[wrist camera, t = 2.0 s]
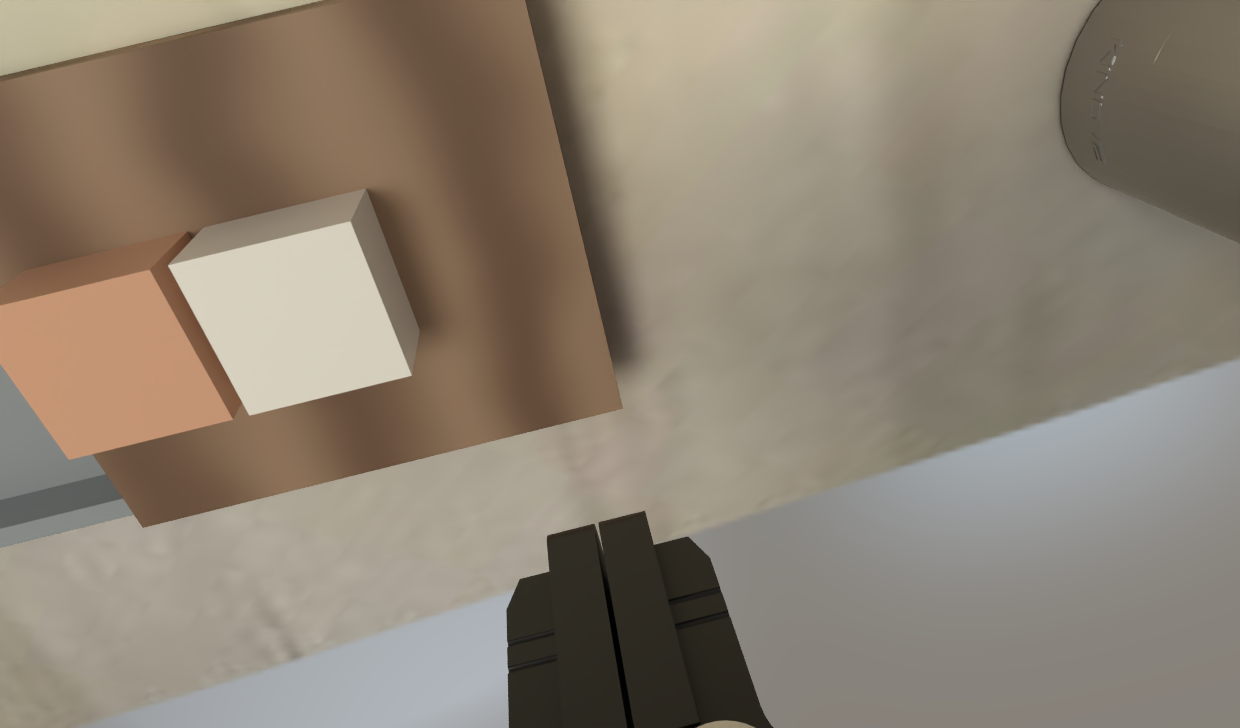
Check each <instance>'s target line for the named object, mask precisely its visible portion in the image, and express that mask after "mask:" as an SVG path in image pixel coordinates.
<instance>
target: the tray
mask: <svg viewBox="0 0 1240 728" xmlns="http://www.w3.org/2000/svg"><path fill="white" fill-rule="evenodd" d="M130 515H134V514H133V512H132V511H131V510H130V508H129V507H128V505H127V504H126V502H125V501H124V499H123V498H122V497H121V495H120V494H119V492H118V491H117V489H116V488H115V486H114V485H113V484H112V482H111V481H110V479H109V478H108V476H107V475H106V473H105V472H104V470H103V469H102V468H101V466H100V465H99V463H98V462H97V460H96V459H95V457H94V456H93V455H92V454H91V455H87V456H83V457H79V458H75V459H71V460H69V459H68V458H67V457H66V455H65V454H64V452H63V451H62V450H61V448H60V447H59V445H58V444H57V443H56V441H55V440H54V438H53V437H52V436H51V434H50V433H49V431H48V430H47V429H46V427H45V426H44V424H43V423H42V422H41V420H40V419H39V417H38V416H37V415H36V413H35V412H34V410H33V409H32V408H31V406H30V405H29V403H28V402H27V401H26V399H25V398H24V396H23V395H22V394H21V392H20V391H19V389H18V388H17V387H16V385H15V384H14V382H13V381H12V380H11V378H10V377H9V375H8V374H7V373H6V371H5V370H4V368H3V367H2V366H1V364H0V548H1V547H5V546H9V545H13V544H17V543H21V542H25V541H29V540H34V539H38V538H42V537H46V536H50V535H54V534H58V533H62V532H66V531H70V530H74V529H78V528H82V527H86V526H90V525H94V524H98V523H102V522H106V521H110V520H114V519H118V518H122V517H126V516H130Z"/></svg>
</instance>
